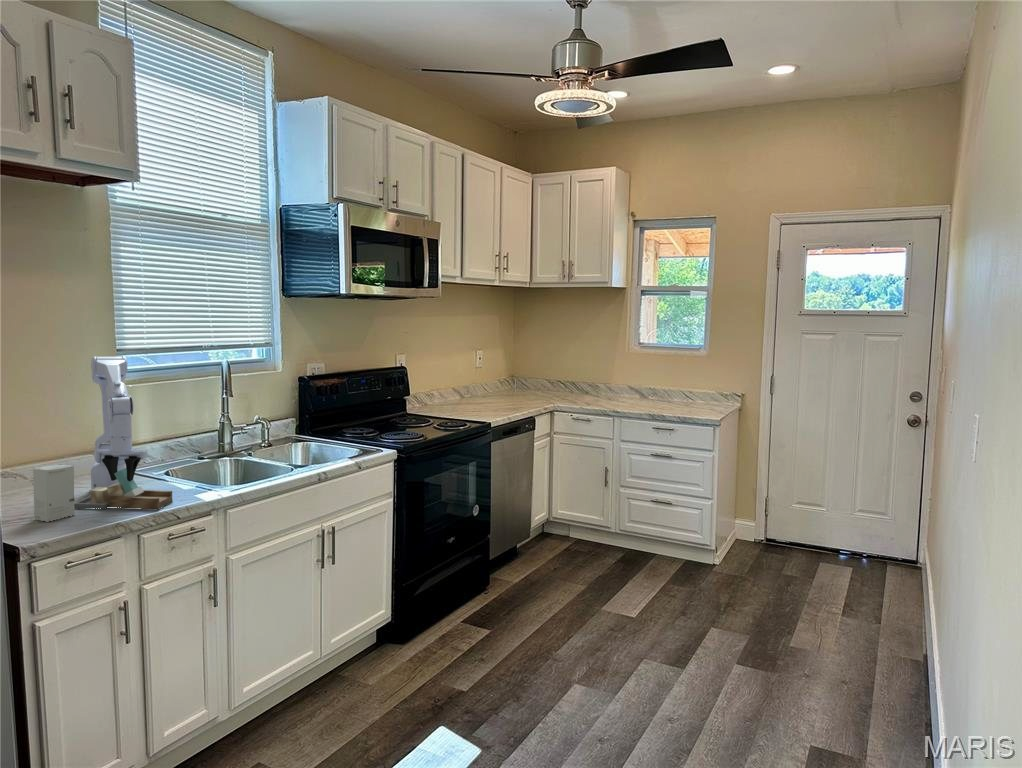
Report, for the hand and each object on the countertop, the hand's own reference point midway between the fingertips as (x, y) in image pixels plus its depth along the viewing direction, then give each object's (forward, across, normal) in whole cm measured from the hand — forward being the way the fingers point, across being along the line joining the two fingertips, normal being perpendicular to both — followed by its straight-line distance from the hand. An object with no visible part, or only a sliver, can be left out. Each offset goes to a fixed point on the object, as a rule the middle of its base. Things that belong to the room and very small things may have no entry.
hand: (122, 480), depth 211 cm
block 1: (+5, -5, 0) cm, 7 cm away
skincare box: (+8, -11, -15) cm, 20 cm away
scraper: (+5, +4, 0) cm, 6 cm away
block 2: (+5, -1, 0) cm, 5 cm away
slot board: (+8, +5, 0) cm, 9 cm away
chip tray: (+8, -7, 0) cm, 10 cm away
